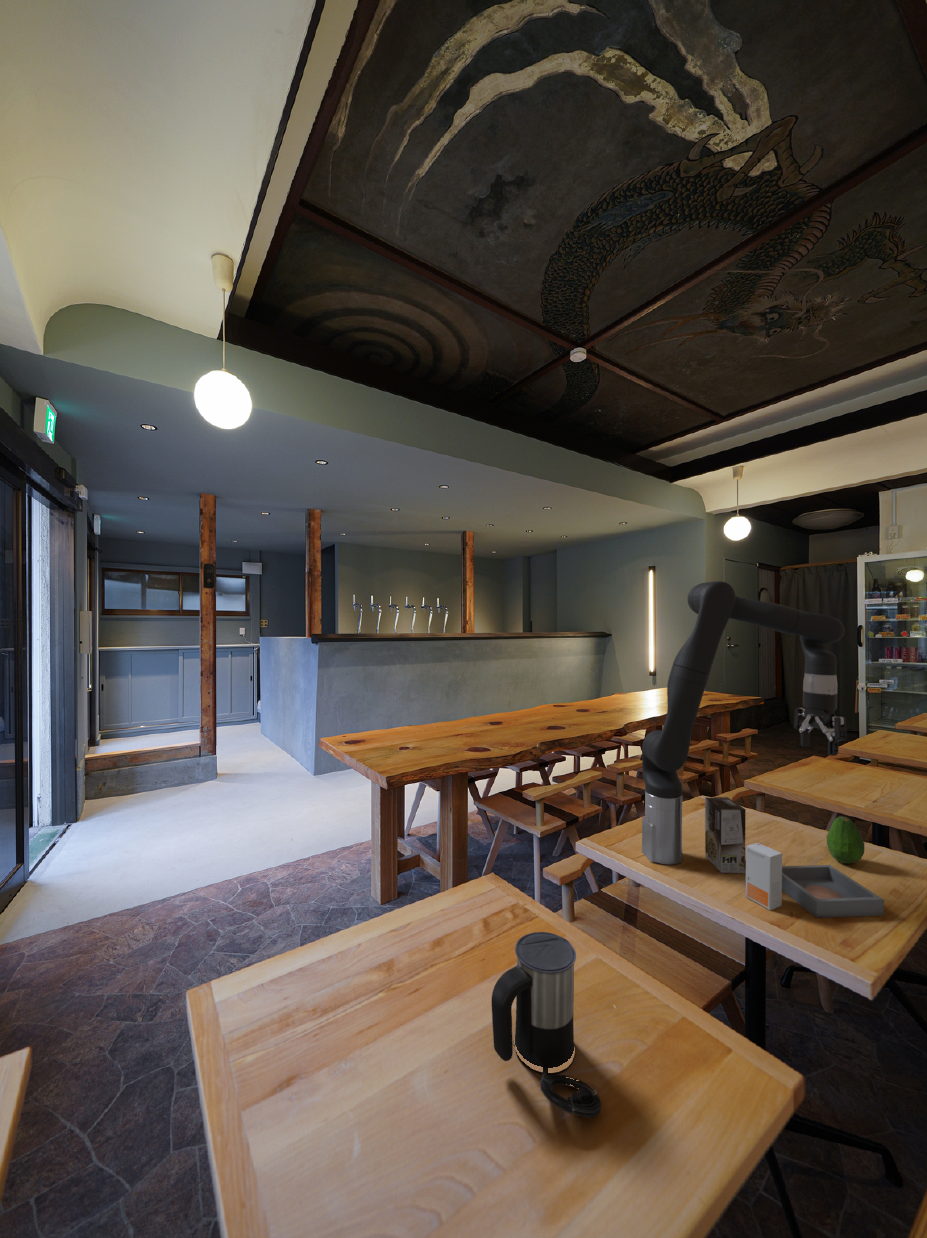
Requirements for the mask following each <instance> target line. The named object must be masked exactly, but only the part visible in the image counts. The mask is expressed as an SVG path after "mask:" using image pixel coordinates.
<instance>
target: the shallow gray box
mask: <svg viewBox="0 0 927 1238" xmlns="http://www.w3.org/2000/svg"><path fill="white" fill-rule="evenodd" d="M782 892H784V893H785V894H786V895H787V896H789V897H790V898H791V899H792V900H794V901H795V902H796V903H797V904H798V905H800V906H802V908H803V909H804V910H806V911H808V912H809V913H811V915H813V916H814V917H815V918H816V919H822V918H823V919H824V918H846V917H847V918H848V917H850V918H851V917H872V916H873V917H876V916H877V917H878V916H884V898H882V897H880V896H879V895H878V894H876V893H874V891H871V890H870V889H868V888H866V887H865V886H863V885H862V884H861V883H859V882H857V881H856V880H854V879H853V878H851V877H849V876H848V875H846V874H844V873H843V872H841V871H840V870H838V869H836V868H835V867H833V866H832V865H831V864H816V865H815V864H814V865H813V864H812V865H811V864H810V865H809V864H808V865H782Z"/></svg>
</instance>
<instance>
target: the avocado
mask: <svg viewBox="0 0 927 1238" xmlns="http://www.w3.org/2000/svg"><path fill="white" fill-rule="evenodd" d="M826 845H827V849H828V851H829V853H830V856H832V858H833V859H835V860H836V861H838V862H839V863H842V864H847V865H848V864H855V863H857V862H860V860H862V858H863V857H864V854H865V842H864V840H863V836H862V834H861V832H860V830H859V829H858V826H857V825H856V824H855V823H854V822H853V820H852V819H850V818H848V817H847V816H837V817H836V818H835V819H833V822H832V824H831V825H830V828H829V829H828V832H827V834H826Z"/></svg>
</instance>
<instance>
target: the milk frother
mask: <svg viewBox="0 0 927 1238" xmlns="http://www.w3.org/2000/svg"><path fill="white" fill-rule="evenodd" d="M514 953H515V955H516V958H517V959H516V965H515V966H514V967H511V968H510V969H508V970H506V971H504V972H503V973H502V974H501V976H500V977H499V978H498V979H497V981H496V983H495V985H494V986H493V990H492V993H491V1017H492V1018H491V1019H492V1021H491V1024H492V1036H493V1037H492V1038H493V1049H494V1051H495V1052H496V1054H497V1055H498V1057H500V1059H501V1060H502V1061H504V1062H508V1061H510V1060H511V1059H512V1058H513V1051H514V1050H513V1049H514V1040H513V1015H512V1010H513V1009H512V1007H513V1003H514V1001H515V1000H516V1001H515V1005H516V1010H515V1029H514V1030H515V1031H514V1032H515V1033H514V1036H515V1045H516V1047H517V1050H518V1051H519V1053H520V1054H521V1055H522V1056H523V1058H524V1059H526V1060H527V1061H529V1062H530V1063H532V1064H534V1065H537V1066H541V1067H543V1073H541V1079H540V1090H541V1092H542V1094H543V1095H544V1096H545V1098H546V1099H547V1101H549V1102H550V1103H552V1104H553V1105H554V1106H555V1107H557V1108H559V1109H561V1110H562V1111H564V1112H567V1113H569V1114H571V1115H575V1116H577V1117H580V1118H595V1117H597V1116H598V1115H599V1114H600V1113H601V1111H602V1101H601V1099H600V1096H599V1095H598V1091H597V1090H596V1089H593V1088H592V1087H591V1086H589V1085H588V1084H586V1083H585V1082H584V1081H582V1080H580V1079H578V1078H575V1077H572V1076H568V1075H565V1074H549V1075H548V1074H547V1073H548V1068H553V1067H558V1066H560V1065H562V1064H563V1063H565V1062H567V1061H568V1059H570V1058H571V1056H572V1054H573V1051H574V1045H575V1040H574V1038H575V1034H574V1028H575V1027H574V997H575V996H574V995H575V994H574V993H575V992H574V991H575V983H574V982H575V962H576V960H577V952H576V950H575V947H574V946H573V944H572V943H571V942H570V941H569V940H568V939H566V938H564V937H563V936H561V935H559V934H555V933H552V932H547V931H546V932H545V931H538V932H537V931H535V932H534V931H533V932H531V933H528V934H524V935H522V936H521V937H520V938H518V940H517V941H516V944H515V947H514ZM566 1077H571V1078H573V1079H574V1078H575V1079H574V1080H573V1079H570V1078H566ZM577 1079H578V1080H579V1081H576V1080H577ZM561 1084H564V1085H563V1086H567V1085H570V1084H571V1085H573V1086H574V1087H575V1088H574V1087H573V1088H574V1089H576V1088H579V1089H577V1091H576V1092H574V1093H572V1095H571V1096H568V1097H567V1098H566V1099H565V1098H564V1097H563V1096H562V1095H560V1094H558V1093H557V1092H555V1090H554V1089H553V1086H555V1085H561ZM566 1084H567V1085H566Z"/></svg>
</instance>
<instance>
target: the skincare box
mask: <svg viewBox="0 0 927 1238" xmlns="http://www.w3.org/2000/svg"><path fill="white" fill-rule="evenodd" d="M782 866H783V853H782V852H780V851H777V850H775V849H773V848H772V847H769V846H766V845H763V844H761V843H759V842H755V843H751V844H748V845H745V894H744V895H745V898H747V899H749V900H750V901H753V902H755V903H756V904H758V905H760V906H761V907H763V908H765V909H767V910H768V911H773V910H775V909H777V908H780V907H782V905H783V904H782V903H783V901H782V899H783V898H782V897H783V896H782V895H783V894H782V892H783V891H782Z"/></svg>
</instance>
